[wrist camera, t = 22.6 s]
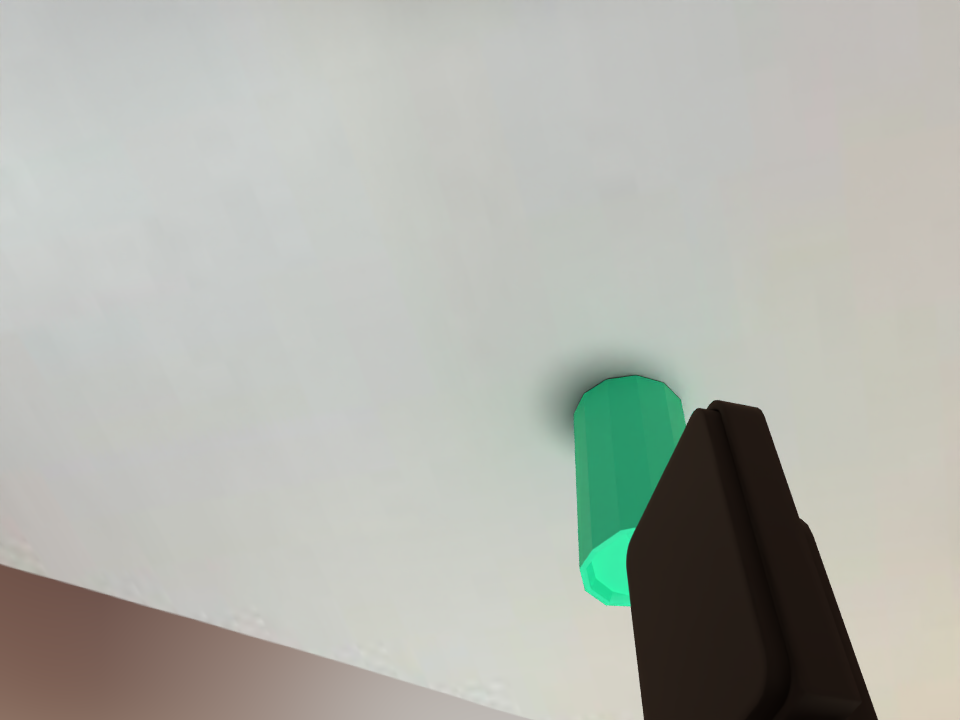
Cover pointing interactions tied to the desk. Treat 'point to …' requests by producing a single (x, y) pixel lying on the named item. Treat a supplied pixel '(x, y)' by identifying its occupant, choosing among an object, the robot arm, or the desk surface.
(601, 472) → the candle
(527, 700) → the desk surface
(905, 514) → the desk surface
